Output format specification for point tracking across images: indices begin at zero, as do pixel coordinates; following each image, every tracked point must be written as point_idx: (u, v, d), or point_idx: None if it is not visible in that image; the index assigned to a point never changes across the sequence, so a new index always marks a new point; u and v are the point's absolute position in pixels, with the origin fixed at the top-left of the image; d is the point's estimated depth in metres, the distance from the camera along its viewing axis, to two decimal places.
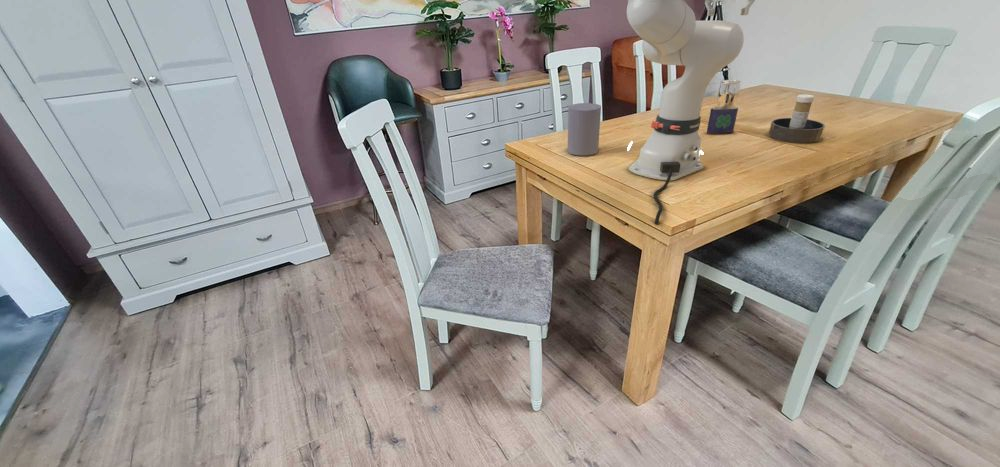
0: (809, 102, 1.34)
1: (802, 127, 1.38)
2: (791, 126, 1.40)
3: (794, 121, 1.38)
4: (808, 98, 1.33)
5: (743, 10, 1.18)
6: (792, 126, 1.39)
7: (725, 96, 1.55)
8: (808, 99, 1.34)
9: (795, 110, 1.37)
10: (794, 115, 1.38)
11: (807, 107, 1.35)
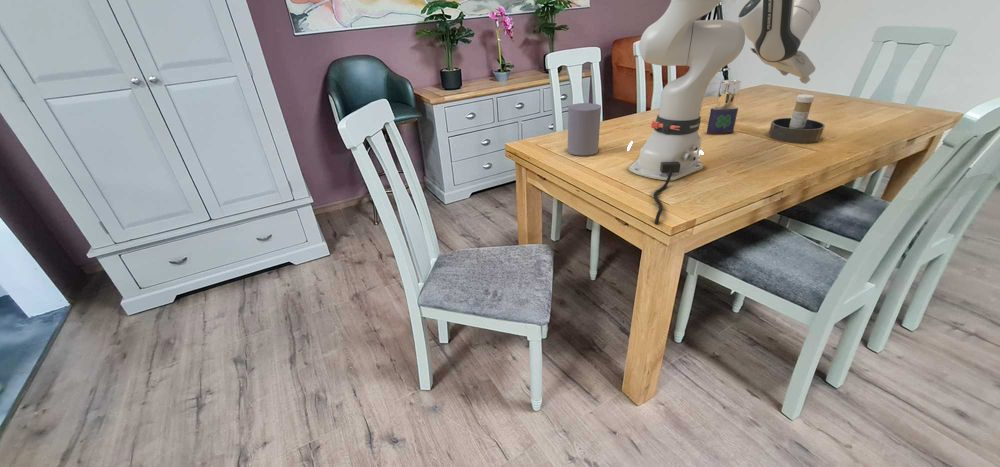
0: (809, 102, 1.34)
1: (802, 127, 1.38)
2: (791, 126, 1.40)
3: (794, 121, 1.38)
4: (808, 98, 1.33)
5: None
6: (792, 126, 1.39)
7: (725, 96, 1.55)
8: (808, 99, 1.34)
9: (795, 110, 1.37)
10: (794, 115, 1.38)
11: (807, 107, 1.35)
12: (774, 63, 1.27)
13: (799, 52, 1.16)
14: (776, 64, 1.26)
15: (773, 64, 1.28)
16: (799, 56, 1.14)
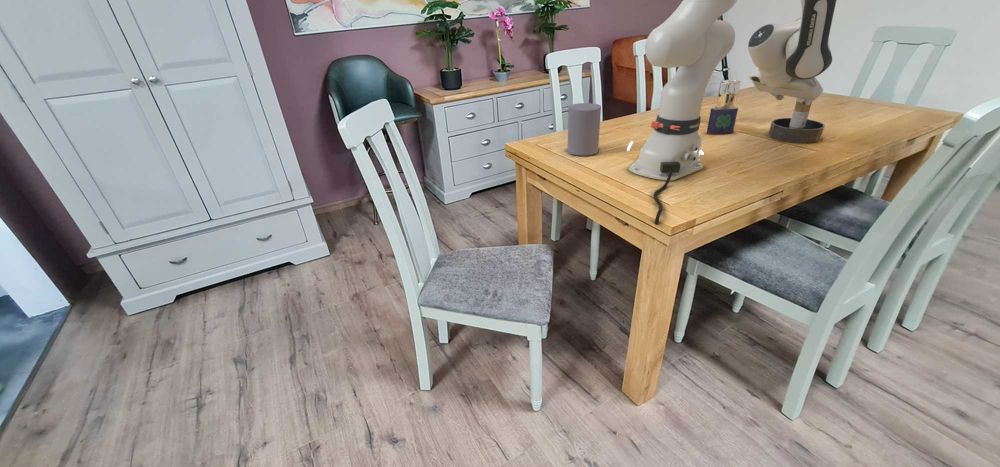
0: None
1: (802, 127, 1.38)
2: (791, 126, 1.40)
3: (794, 121, 1.38)
4: None
5: None
6: (792, 126, 1.39)
7: (725, 96, 1.55)
8: None
9: (795, 110, 1.37)
10: (794, 115, 1.38)
11: (807, 107, 1.35)
12: (774, 89, 1.32)
13: None
14: (777, 89, 1.31)
15: (772, 90, 1.33)
16: (812, 79, 1.18)
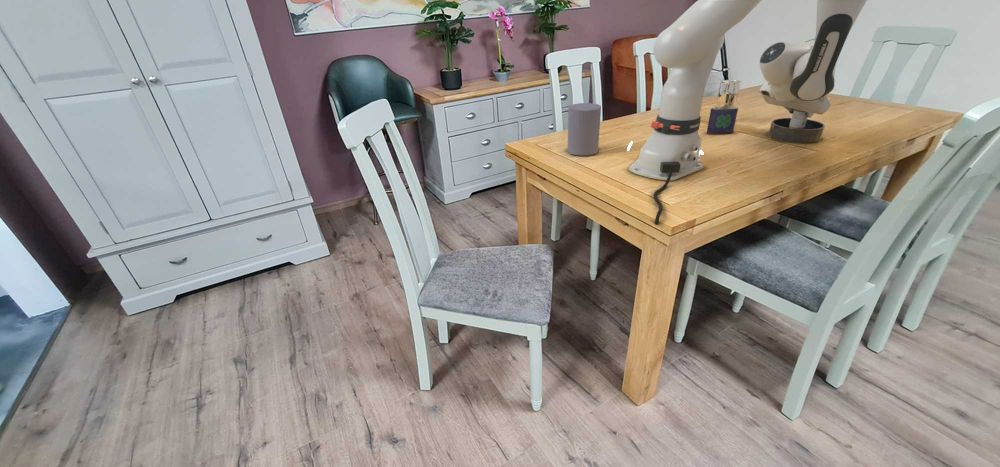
0: None
1: (802, 127, 1.38)
2: (791, 126, 1.40)
3: (794, 121, 1.38)
4: None
5: None
6: (792, 126, 1.39)
7: (725, 96, 1.55)
8: None
9: (795, 110, 1.37)
10: (794, 115, 1.38)
11: None
12: (783, 102, 1.37)
13: None
14: (786, 103, 1.36)
15: (781, 103, 1.38)
16: None
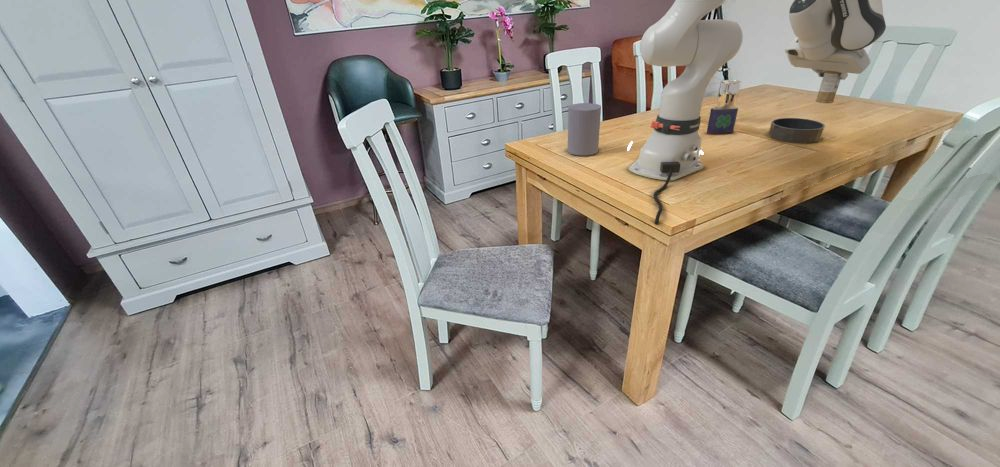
0: None
1: (834, 91, 1.22)
2: (821, 91, 1.24)
3: (825, 84, 1.22)
4: None
5: None
6: (822, 91, 1.23)
7: (725, 96, 1.55)
8: None
9: (826, 72, 1.21)
10: (825, 78, 1.22)
11: None
12: (813, 63, 1.21)
13: None
14: (816, 63, 1.20)
15: (810, 65, 1.22)
16: (860, 49, 1.07)
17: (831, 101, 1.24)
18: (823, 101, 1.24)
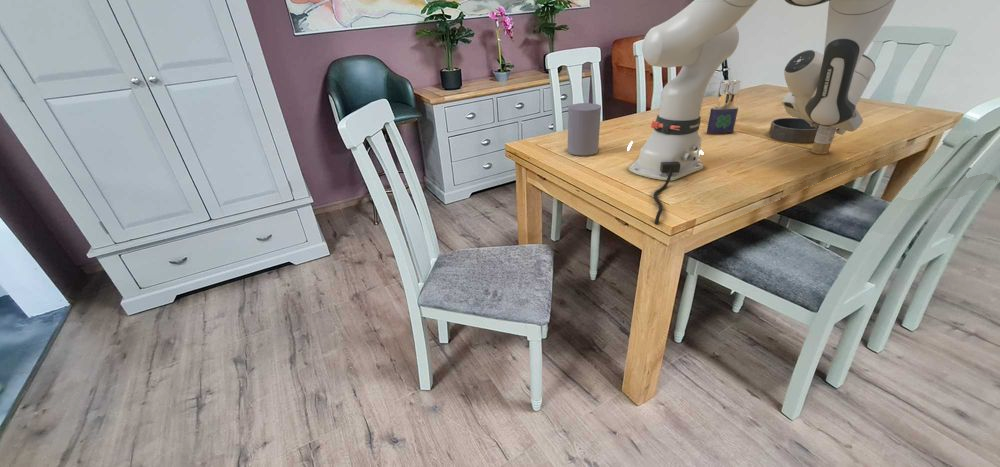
0: None
1: (829, 143, 1.24)
2: (816, 142, 1.26)
3: (820, 136, 1.24)
4: None
5: None
6: (817, 142, 1.25)
7: (725, 96, 1.55)
8: None
9: None
10: (820, 130, 1.24)
11: None
12: None
13: None
14: None
15: (806, 117, 1.24)
16: None
17: (826, 152, 1.26)
18: (818, 152, 1.26)
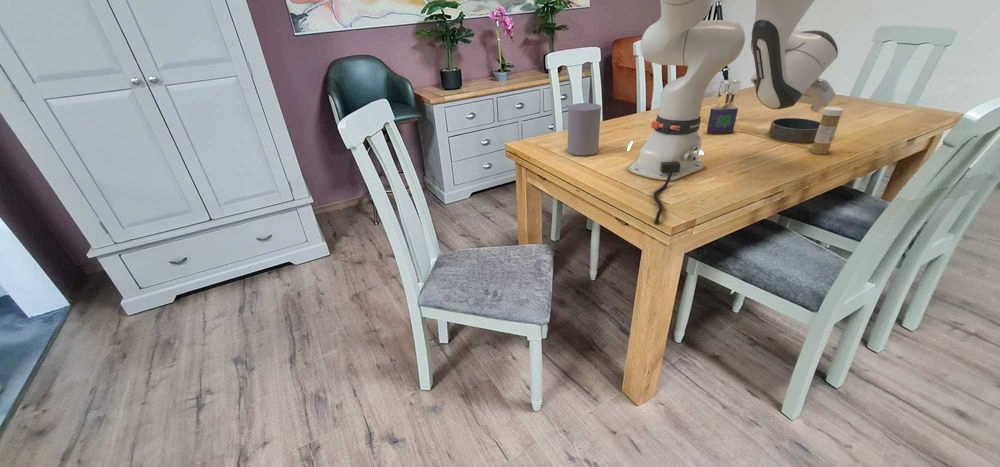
0: (837, 115, 1.20)
1: (829, 143, 1.24)
2: (816, 142, 1.26)
3: (820, 136, 1.24)
4: (836, 111, 1.20)
5: None
6: (817, 142, 1.25)
7: (725, 96, 1.55)
8: (837, 113, 1.20)
9: (821, 124, 1.24)
10: (820, 129, 1.24)
11: (835, 121, 1.21)
12: None
13: (819, 79, 1.05)
14: None
15: None
16: (824, 83, 1.03)
17: (826, 152, 1.26)
18: (818, 152, 1.26)
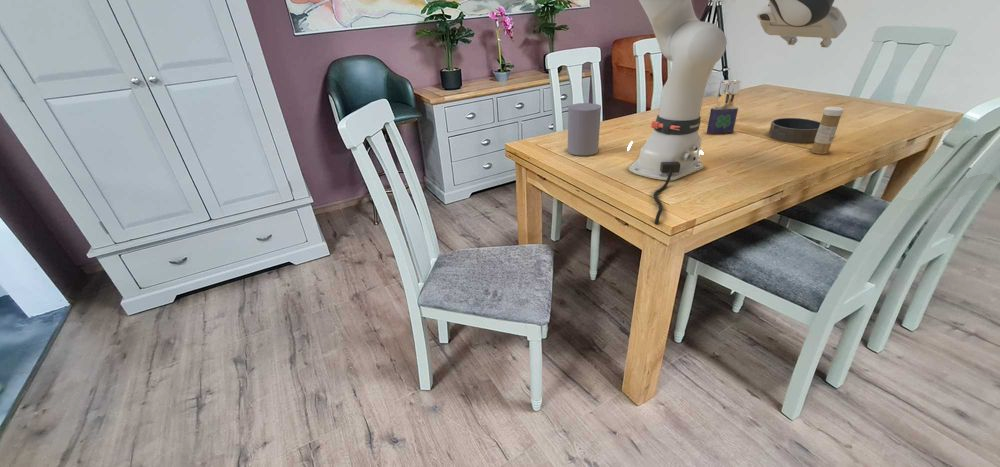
0: (838, 115, 1.20)
1: (829, 143, 1.24)
2: (816, 141, 1.26)
3: (820, 136, 1.24)
4: (837, 111, 1.20)
5: None
6: (817, 141, 1.25)
7: (725, 96, 1.55)
8: (837, 113, 1.20)
9: (821, 124, 1.24)
10: (820, 129, 1.24)
11: (835, 121, 1.21)
12: (787, 29, 1.11)
13: None
14: (790, 29, 1.10)
15: (784, 31, 1.12)
16: (835, 9, 0.97)
17: (826, 152, 1.26)
18: (818, 151, 1.26)
